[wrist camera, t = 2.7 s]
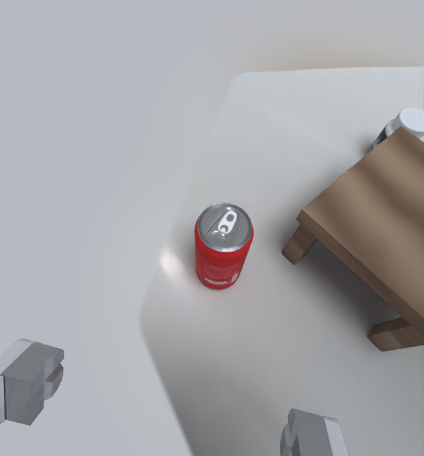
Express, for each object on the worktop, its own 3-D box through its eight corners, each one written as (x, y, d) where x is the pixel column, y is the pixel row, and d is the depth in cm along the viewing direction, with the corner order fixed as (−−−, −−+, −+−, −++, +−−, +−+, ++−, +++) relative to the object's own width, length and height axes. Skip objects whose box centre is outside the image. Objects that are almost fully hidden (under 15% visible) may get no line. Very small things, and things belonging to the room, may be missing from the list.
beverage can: (188, 278, 37) (183, 237, 26) (208, 243, 39) (212, 191, 28) (227, 299, 36) (239, 265, 25) (246, 262, 38) (264, 215, 27)
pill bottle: (371, 143, 47) (404, 98, 39) (401, 159, 46) (441, 115, 38) (358, 163, 45) (390, 120, 38) (389, 180, 44) (428, 139, 37)
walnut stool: (355, 183, 44) (400, 126, 34) (458, 266, 39) (547, 228, 29) (276, 252, 39) (302, 209, 29) (382, 358, 34) (458, 349, 24)
